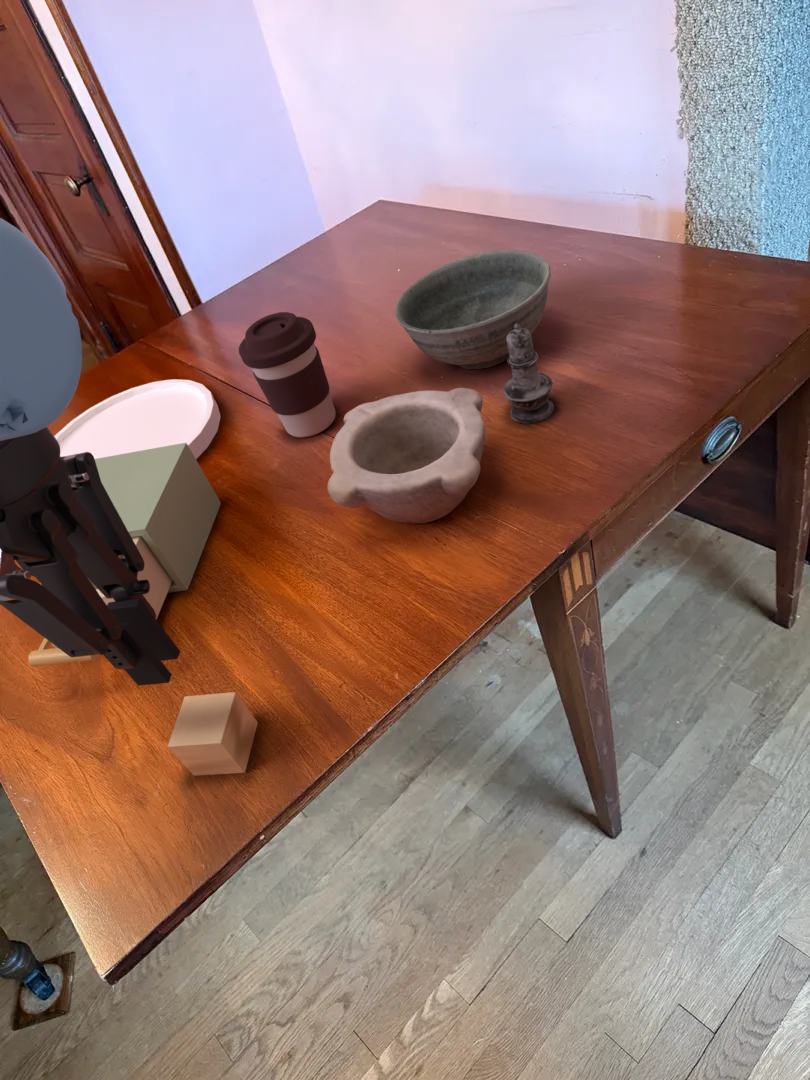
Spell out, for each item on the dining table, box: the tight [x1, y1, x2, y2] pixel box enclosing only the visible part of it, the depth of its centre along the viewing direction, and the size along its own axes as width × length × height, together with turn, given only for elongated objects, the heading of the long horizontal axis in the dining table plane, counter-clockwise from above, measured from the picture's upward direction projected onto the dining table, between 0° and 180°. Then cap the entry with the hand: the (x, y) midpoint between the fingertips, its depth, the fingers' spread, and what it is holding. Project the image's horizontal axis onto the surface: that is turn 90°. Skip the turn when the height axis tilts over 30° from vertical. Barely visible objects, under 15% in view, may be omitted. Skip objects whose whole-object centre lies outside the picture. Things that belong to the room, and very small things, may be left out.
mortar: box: [326, 387, 486, 525], centre depth 82 cm, size 17×17×9 cm
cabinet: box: [95, 443, 222, 594], centre depth 88 cm, size 15×13×10 cm
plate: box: [54, 378, 221, 460], centre depth 110 cm, size 28×28×2 cm
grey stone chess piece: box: [502, 323, 555, 425], centre depth 87 cm, size 6×6×12 cm
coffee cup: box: [238, 311, 336, 438], centre depth 98 cm, size 10×10×15 cm
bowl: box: [394, 249, 552, 370], centre depth 101 cm, size 21×21×10 cm
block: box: [167, 691, 258, 777], centre depth 65 cm, size 5×5×5 cm
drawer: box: [27, 536, 173, 668], centre depth 80 cm, size 19×12×8 cm, turn 174°
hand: (159, 667), depth 59 cm, fingers closed
